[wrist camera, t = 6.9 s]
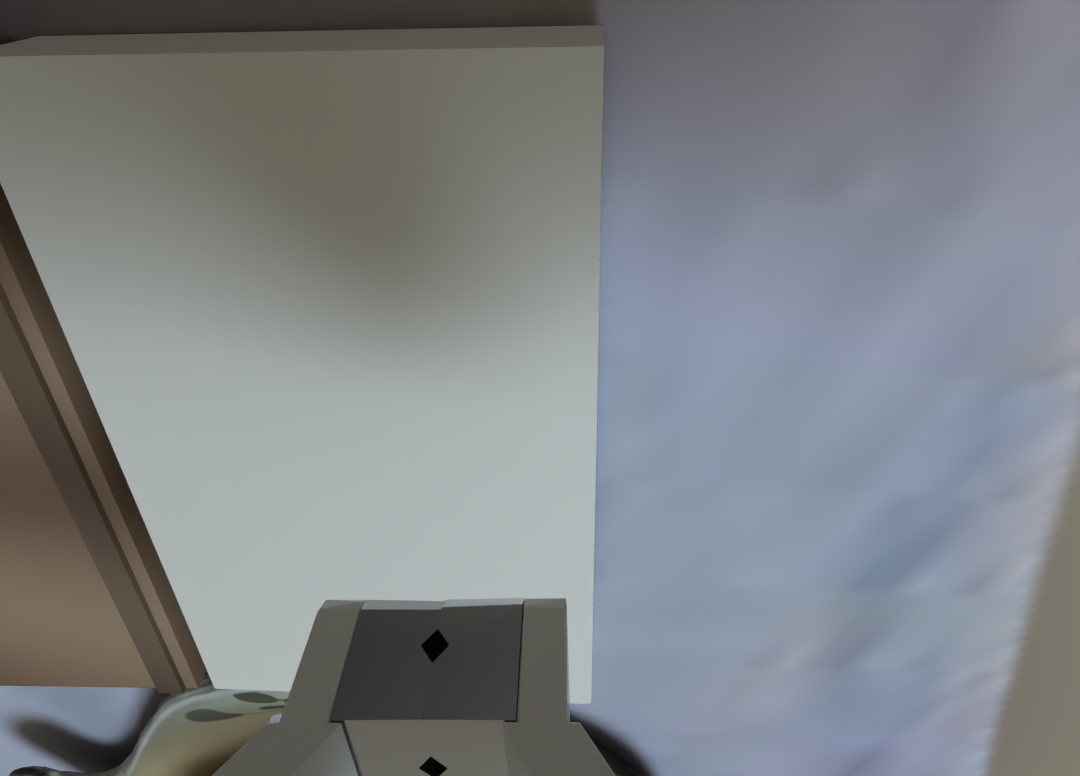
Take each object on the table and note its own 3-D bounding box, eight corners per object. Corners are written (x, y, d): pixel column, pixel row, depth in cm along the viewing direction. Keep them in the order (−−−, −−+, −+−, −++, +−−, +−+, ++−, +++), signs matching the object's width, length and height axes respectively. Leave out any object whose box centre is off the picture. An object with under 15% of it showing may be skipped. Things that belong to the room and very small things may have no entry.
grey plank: (38, 36, 12) (-53, 57, 10) (602, 24, 11) (604, 45, 10) (247, 621, 20) (214, 688, 18) (591, 633, 19) (590, 703, 17)
